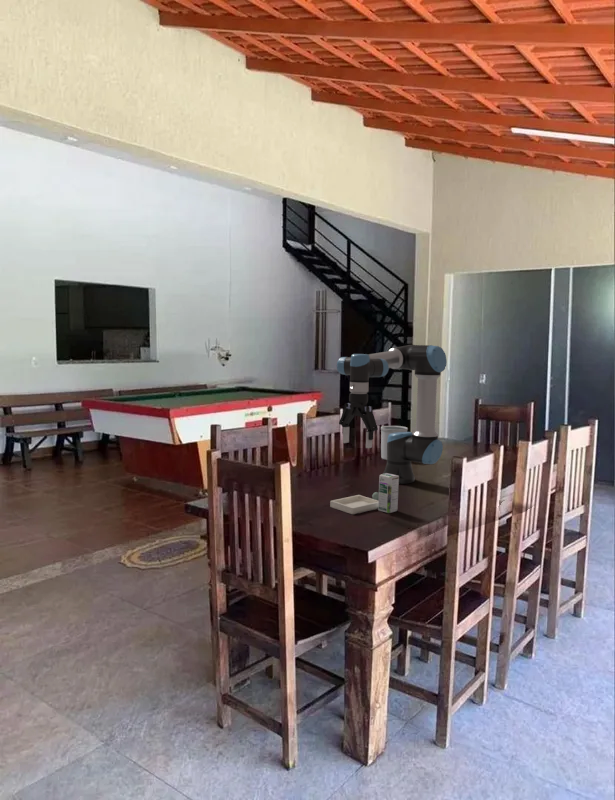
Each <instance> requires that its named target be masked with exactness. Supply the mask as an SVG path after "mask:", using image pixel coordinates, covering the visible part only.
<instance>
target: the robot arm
mask: <svg viewBox="0 0 615 800" xmlns="http://www.w3.org/2000/svg"><path fill="white" fill-rule="evenodd" d="M445 352H446V351H444V349H443V348H442V347H441V346H439V345H432V344H431V345H430V344H429V345H427V344H425V345H424V344H421V345H420V344H408V345H403V346H396V347H392V348H390V349H388V351H382V352H381V351H380V352H376V353H369V354H367V353H365V354H364V353H353V354H351V356H349V357H348V356H341V357H340V358H338V360H337V362H336V370H337V372H338V373H339V374H341V375H343V376H344V375H345V376H349V392H350V393H348V394H349V396H348V401H349V402H347V403H346V402H345V403H344V408H343V411H342V414H341V416H340V419H339V421H338V424H339V425H340V426H341V428H342V443H343V444H347V443H350V426H349V425H350V423H351V422H352V421H353V419H354V417H355V416H357V417H359V418H360V419H361V420H362V422H363V424H364V426H365V428H366V430H367V431H366V432H365V449H371V448H373V440H374V432H375V431H378V425H377V422H376V418H375V416H374V415H375V414H374V410H373V406H370V405H369V406H367V404H368V402H369V394H368V393H369V389H370V388H369V381H370V380H369V379H370V378H381V377H385V376H386V375H387V374H388V373H389V370H390V369H392V370H400V369H401V370H402V369H403V370H409V371H414V376H415V377H416V378H417V388H416V389H417V391H416V392H417V393H416V414H415V417H416V419H415V430H414V431H413V432H411V431H407V432H397V433H391V434H389V435H388V441H387V460H386V464H385V467H384V470H383V473H382V474H385V473H388V474H393V475H398V476H399V484H400V485H401V484H402V485H403V484H404V485H405V484H406V485H407V484H412V483H414V482H415V478H416V477H415V474H414V471H413V466H412V462H416V463H420V464H424V465H434V464H436V463H437V462H439V459H440V458H441V456H442V454H443V450H444V449H443V448H444V446H443V442H442V441H441V439H439V434H438V433H437V432H436V411H437V410H436V409H437V391H438V390H437V389H438V387H437V386H438V385H437V384H438V379H439V378H440V377H441V374H442V373H443V372H444V370H445V369H446V367H447V355H446V353H445Z"/></svg>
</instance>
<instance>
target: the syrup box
mask: <svg viewBox="0 0 615 800" xmlns="http://www.w3.org/2000/svg"><path fill="white" fill-rule="evenodd" d="M378 477H379V479H378V480H379V481H378V493H379V500H378V501H379V503H378V509H377V510H378V511H379V512H384V513H386V514H391V513H394V512H397V511H398V506H399V504H398V501H399V476H398V475H393V474H388V473H385V474H383V473H382V474H379V476H378Z"/></svg>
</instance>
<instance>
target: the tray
mask: <svg viewBox="0 0 615 800" xmlns="http://www.w3.org/2000/svg"><path fill="white" fill-rule="evenodd" d="M329 503H330V504H329V505H330V506H329V507H330V508H331V509H335V510H338V511H340V512H344V513H347V514H349V515H357V514H361V513H364V512H368V511H374V510H378V503H379V500H374V499H373V498H371V497H368V496H367V497H366V496H364V495H361V494H356V495H351V496H348V497H346V496H345V497H342V498H338V499H333V500H330V502H329Z"/></svg>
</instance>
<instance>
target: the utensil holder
mask: <svg viewBox="0 0 615 800" xmlns="http://www.w3.org/2000/svg"><path fill="white" fill-rule="evenodd" d="M380 430H381V431H380V432H381V434H380V435H381V437H380V439H381V440H380V442H381V443H380V456H381V459H382V460H386V461H387V441H388V435H389V434H391V433H397V432H408V430H409V428H408V427H406V426H403V425H402V426H401V425H384V426H383V425H382V426H381V427H380Z"/></svg>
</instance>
